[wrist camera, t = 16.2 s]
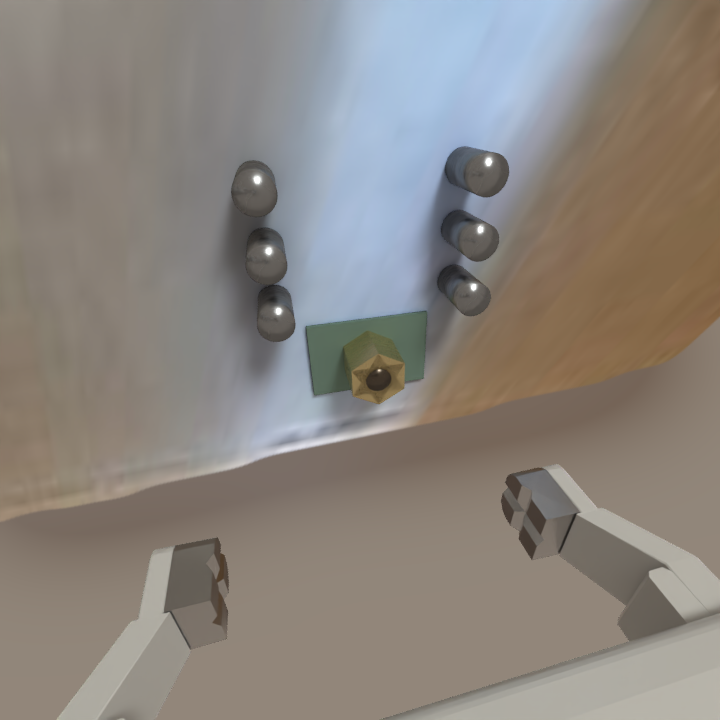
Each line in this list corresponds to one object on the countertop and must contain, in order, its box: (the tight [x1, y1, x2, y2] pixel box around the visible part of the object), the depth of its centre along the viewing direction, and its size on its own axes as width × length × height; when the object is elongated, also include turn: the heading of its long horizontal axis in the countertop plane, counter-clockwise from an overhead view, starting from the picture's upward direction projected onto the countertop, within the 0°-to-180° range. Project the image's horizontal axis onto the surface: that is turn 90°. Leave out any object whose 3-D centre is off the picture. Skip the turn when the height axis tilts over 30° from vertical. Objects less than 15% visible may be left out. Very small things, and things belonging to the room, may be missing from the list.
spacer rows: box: [231, 146, 509, 342], centre depth 34 cm, size 20×13×5 cm, turn 93°
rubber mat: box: [306, 311, 427, 395], centre depth 42 cm, size 12×8×1 cm, turn 93°
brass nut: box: [343, 330, 405, 404], centre depth 40 cm, size 5×6×5 cm
